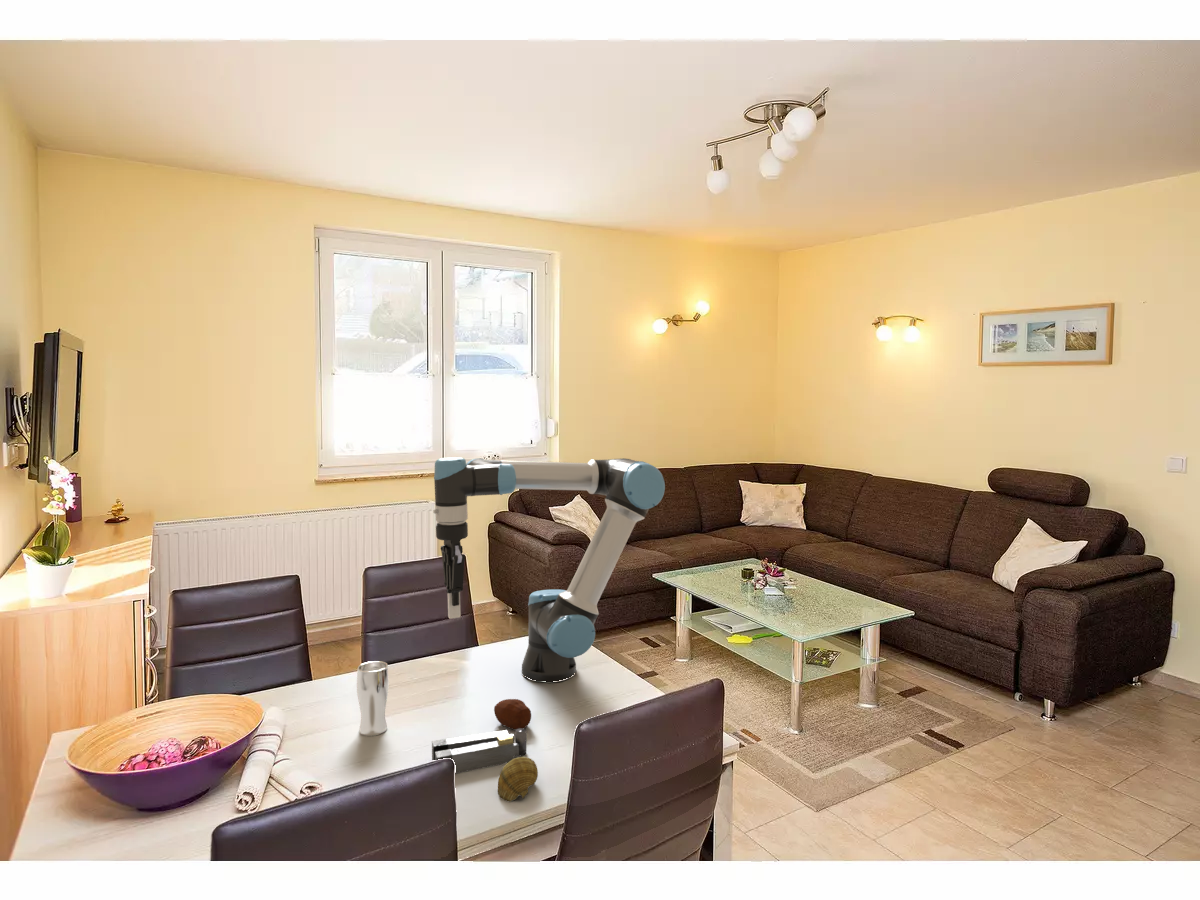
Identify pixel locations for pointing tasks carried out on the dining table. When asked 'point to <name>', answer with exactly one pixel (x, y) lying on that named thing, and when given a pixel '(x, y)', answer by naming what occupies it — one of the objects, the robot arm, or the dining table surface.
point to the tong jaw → (466, 741)
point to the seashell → (517, 778)
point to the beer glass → (372, 697)
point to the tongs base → (487, 752)
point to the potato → (512, 713)
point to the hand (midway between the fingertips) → (454, 617)
